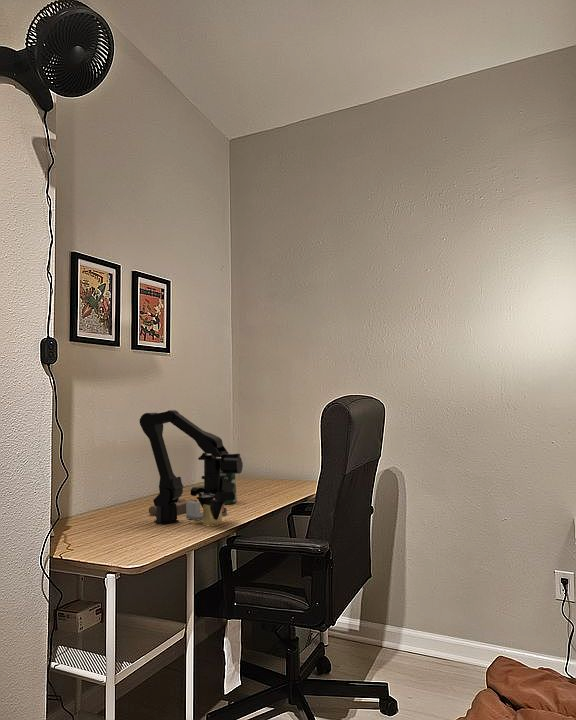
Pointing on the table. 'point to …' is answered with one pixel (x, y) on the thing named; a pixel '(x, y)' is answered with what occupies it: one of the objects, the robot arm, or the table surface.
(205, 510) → the block
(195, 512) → the vise
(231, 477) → the coffee jar
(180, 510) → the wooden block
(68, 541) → the table surface
